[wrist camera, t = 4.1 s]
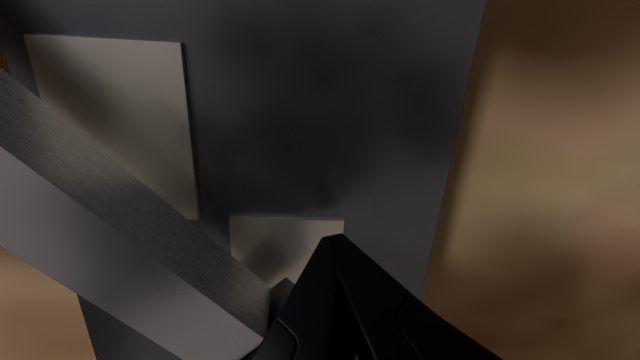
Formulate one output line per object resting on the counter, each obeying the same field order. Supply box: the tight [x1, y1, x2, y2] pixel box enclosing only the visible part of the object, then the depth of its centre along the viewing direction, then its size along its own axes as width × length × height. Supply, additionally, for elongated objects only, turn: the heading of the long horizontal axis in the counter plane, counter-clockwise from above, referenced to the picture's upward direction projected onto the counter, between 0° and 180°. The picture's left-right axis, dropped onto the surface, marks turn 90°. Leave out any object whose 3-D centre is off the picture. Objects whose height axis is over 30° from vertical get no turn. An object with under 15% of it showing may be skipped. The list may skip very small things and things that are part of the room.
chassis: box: [0, 0, 486, 360], centre depth 11 cm, size 16×12×2 cm
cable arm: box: [0, 67, 295, 360], centre depth 8 cm, size 16×3×5 cm, turn 40°
